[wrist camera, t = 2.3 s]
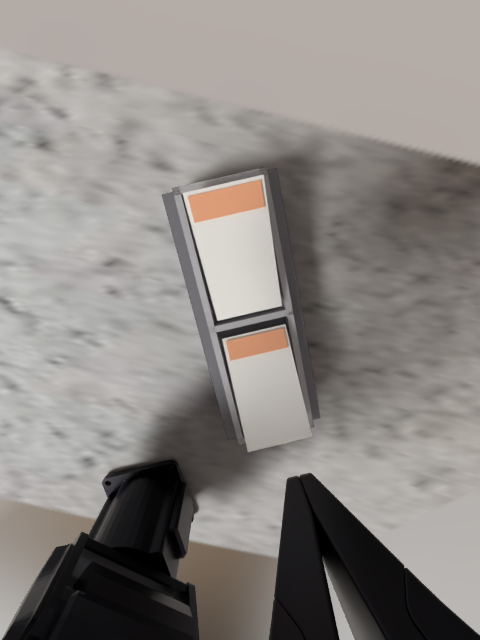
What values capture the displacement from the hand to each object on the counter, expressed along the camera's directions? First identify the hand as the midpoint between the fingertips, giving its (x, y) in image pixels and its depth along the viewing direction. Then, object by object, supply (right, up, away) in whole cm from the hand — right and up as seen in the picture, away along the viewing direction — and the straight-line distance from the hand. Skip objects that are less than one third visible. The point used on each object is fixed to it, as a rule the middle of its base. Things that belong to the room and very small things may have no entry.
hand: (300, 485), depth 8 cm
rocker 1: (-2, +9, +5) cm, 11 cm away
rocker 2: (0, +1, +7) cm, 7 cm away
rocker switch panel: (-2, +6, +11) cm, 13 cm away
